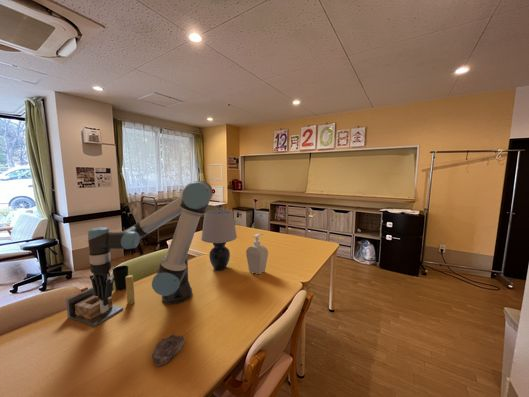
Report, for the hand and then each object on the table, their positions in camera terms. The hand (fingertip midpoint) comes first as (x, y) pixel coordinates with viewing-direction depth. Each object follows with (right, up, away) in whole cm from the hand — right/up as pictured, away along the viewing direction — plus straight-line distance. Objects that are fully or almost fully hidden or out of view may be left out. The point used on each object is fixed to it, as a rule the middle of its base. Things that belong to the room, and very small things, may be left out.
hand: (104, 311), depth 102 cm
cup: (-8, 0, +26) cm, 27 cm away
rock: (+38, -5, -20) cm, 44 cm away
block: (-6, -1, +3) cm, 7 cm away
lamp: (+43, +3, +53) cm, 68 cm away
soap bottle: (+69, +2, +48) cm, 84 cm away
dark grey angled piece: (-6, -2, +2) cm, 6 cm away
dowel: (+6, -1, +11) cm, 12 cm away
